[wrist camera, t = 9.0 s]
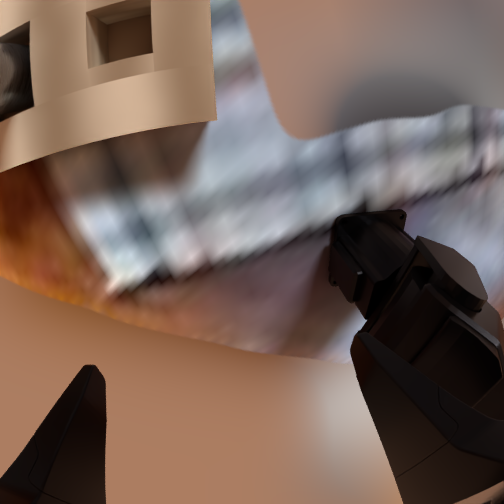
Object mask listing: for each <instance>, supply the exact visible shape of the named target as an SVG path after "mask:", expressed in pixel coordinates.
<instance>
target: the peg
mask: <svg viewBox="0 0 504 504" xmlns="http://www.w3.org/2000/svg"><path fill="white" fill-rule="evenodd" d="M32 106H34V98H33V89H32V78H31V63H30V45H23V44H13V43H0V116H1V115H4V114H7V113H11V112H15V111H19V110H23V109H27V108H30V107H32Z"/></svg>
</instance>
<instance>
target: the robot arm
mask: <svg viewBox="0 0 504 504" xmlns="http://www.w3.org/2000/svg"><path fill="white" fill-rule="evenodd" d="M400 215H401V217H400ZM406 217H407V214H406V212H405V211H403V210H402V209H398V210H386V211H375V212H364V213H354V214H343V215H340V216H339V217H338V218H337V220H336V226H335V235H334V242H333V243H332V245H331V253H330V261H329V269H328V270H329V272H330V275H329V282H330V284H331V286H339V288H340V289H341V291H342V293H343V294H344V296H345V297H346V299H347V301H348V302H350V303H354V302H355V304H356V306H357V307H358V309H359V310H360V312H361V314H362V315H363V317H364V319H365V320H367V321H366V323H365V324H364V326H363V327H362V329H361V330H359V331H358V332H357V333H356V335H355V336H354V339H353V342H352V345H351V348H350V354H351V358H352V361H353V364H354V368H355V371H356V375H357V376H356V377H357V380H358V382H359V385H360V389H361V391H362V394H363V397H364V399H365V402H366V404H367V406H368V409H369V412H370V414H371V416H372V419H373V422H374V424H375V426H376V429H377V432H378V434H379V437H380V440H381V442H382V445H383V447H384V450H385V453H386V456H387V458H388V461H389V464H390V466H391V469H392V472H393V475H394V477H395V481H396V484H397V486H398V489H399V492H400V495H401V498H402V501H403V504H504V329H503V325H502V321H501V317H500V315H499V313H498V312H497V311H496V310H495V309H494V308H493V307H492V306H491V305H490V304H489V303H488V302H487V299H488V295H487V293H486V290H485V288H484V286H483V283H482V281H481V279H480V277H479V274H478V272H477V270H476V268H475V266H474V265H473V264H472V263H471V262H469V261H468V260H467V259H466V258H464V257H463V256H462V255H461V254H459V253H458V252H457V251H456V250H454V249H453V248H450V247H448V246H445V245H442V244H440V243H437V242H435V241H432V240H429V239H426V238H424V237H421V236H417V237H416V239H415V240H414V239H413V238H412V237H411V236H409V235H408V234H407V233H406V232H405V231H404V226H405V221H406ZM343 220H345V222H344V223H342V224H341V222H342V221H343ZM334 280H335V281H334ZM106 422H107V419H106V383H105V379H104V377H103V375H102V374H101V372H100V371H99V369H98V368H97V367H96V366H95V365H84V366H83V367H82V369H81V370H80V371H79V373H78V374H77V375H76V376H75V378H74V379H73V381H72V382H71V383H70V384H69V386H68V387H67V389H66V390H65V391H64V392H63V394H62V395H61V397H60V398H59V399H58V401H57V402H56V403H55V405H54V406H53V408H52V409H51V410H50V412H49V413H48V415H47V416H46V418H45V419H44V420H43V422H42V423H41V425H40V426H39V428H38V429H37V430H36V432H35V434H34V435H33V437H32V438H31V439H30V441H29V442H28V444H27V445H26V447H25V448H24V449H23V451H22V452H21V453H20V455H19V456H18V457H17V459H16V460H15V461H14V462H13V464H12V465H11V466H10V467H9V468H8V470H7V471H6V472H5V473H4V475H3V476H2V477H1V478H0V504H106V494H105V445H106Z"/></svg>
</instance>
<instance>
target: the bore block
mask: <svg viewBox="0 0 504 504" xmlns="http://www.w3.org/2000/svg"><path fill="white" fill-rule="evenodd" d="M0 43H13V44H23V45H30V63H31V78H32V89H33V98H34V106H32V107H30V108H27V109H23V110H19V111H15V112H11V113H7V114H4V115H1V116H0V172H3V171H5V170H8V169H10V168H13V167H16V166H18V165H21V164H24V163H26V162H29V161H32V160H35V159H38V158H41V157H44V156H47V155H50V154H53V153H56V152H59V151H63V150H66V149H69V148H73V147H76V146H80V145H84V144H87V143H91V142H95V141H99V140H103V139H107V138H112V137H116V136H121V135H125V134H130V133H135V132H140V131H145V130H151V129H157V128H163V127H169V126H175V125H182V124H189V123H197V122H206V121H215V120H217V112H216V98H215V84H214V69H213V52H212V34H211V15H210V0H0Z"/></svg>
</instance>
